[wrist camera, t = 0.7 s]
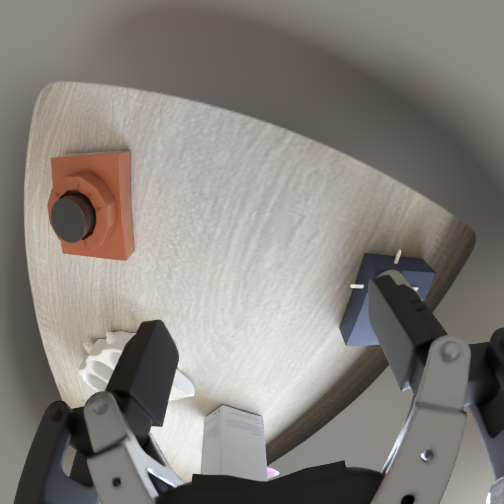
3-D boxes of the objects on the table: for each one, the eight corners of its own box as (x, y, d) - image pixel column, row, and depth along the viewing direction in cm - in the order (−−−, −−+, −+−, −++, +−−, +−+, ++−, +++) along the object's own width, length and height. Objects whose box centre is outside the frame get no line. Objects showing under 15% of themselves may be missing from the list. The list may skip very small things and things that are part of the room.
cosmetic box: (203, 416, 40) (195, 496, 26) (223, 402, 37) (217, 492, 23) (244, 429, 42) (244, 504, 28) (267, 416, 40) (270, 499, 26)
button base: (63, 154, 21) (39, 161, 17) (130, 150, 21) (110, 156, 18) (73, 244, 25) (53, 261, 22) (134, 250, 26) (119, 270, 22)
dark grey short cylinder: (59, 192, 19) (47, 198, 18) (93, 192, 19) (82, 198, 18) (64, 233, 21) (54, 241, 19) (98, 236, 21) (88, 244, 20)
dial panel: (350, 231, 25) (362, 246, 22) (429, 242, 25) (444, 255, 23) (322, 328, 30) (328, 347, 28) (393, 327, 31) (403, 344, 28)
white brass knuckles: (131, 399, 38) (68, 344, 33) (214, 377, 34) (141, 304, 29) (126, 415, 35) (59, 359, 30) (212, 397, 31) (131, 323, 26)
